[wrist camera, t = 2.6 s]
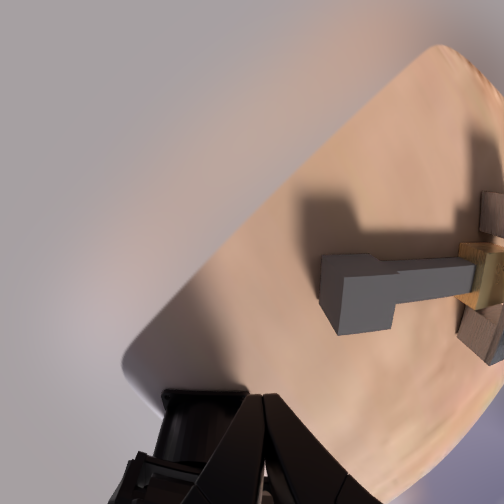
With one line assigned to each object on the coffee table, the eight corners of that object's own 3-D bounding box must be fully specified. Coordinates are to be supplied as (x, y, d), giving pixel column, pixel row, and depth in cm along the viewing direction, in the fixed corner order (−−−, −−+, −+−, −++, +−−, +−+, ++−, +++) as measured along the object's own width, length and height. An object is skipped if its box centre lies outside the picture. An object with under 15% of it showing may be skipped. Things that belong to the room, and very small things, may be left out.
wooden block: (451, 294, 17) (474, 310, 14) (459, 242, 16) (486, 253, 13) (487, 288, 17) (509, 301, 14) (495, 242, 16) (520, 251, 13)
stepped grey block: (318, 303, 16) (337, 335, 13) (321, 255, 16) (344, 277, 12) (453, 289, 17) (484, 309, 13) (460, 250, 16) (495, 265, 12)
